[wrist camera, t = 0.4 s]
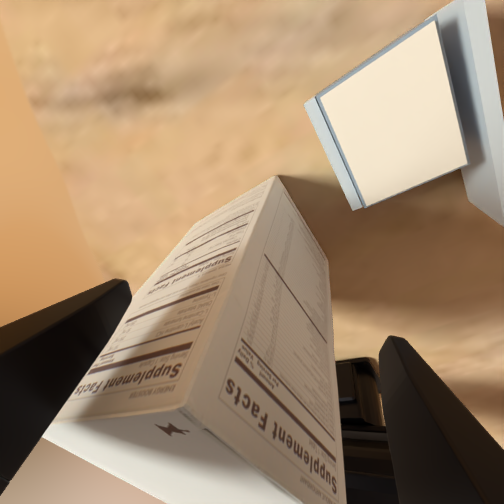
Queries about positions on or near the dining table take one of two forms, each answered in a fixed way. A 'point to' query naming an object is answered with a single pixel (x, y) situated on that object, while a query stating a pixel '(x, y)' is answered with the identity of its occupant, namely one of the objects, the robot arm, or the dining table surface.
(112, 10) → the dining table surface
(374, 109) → the carton
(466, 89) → the flap
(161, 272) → the supplement box
